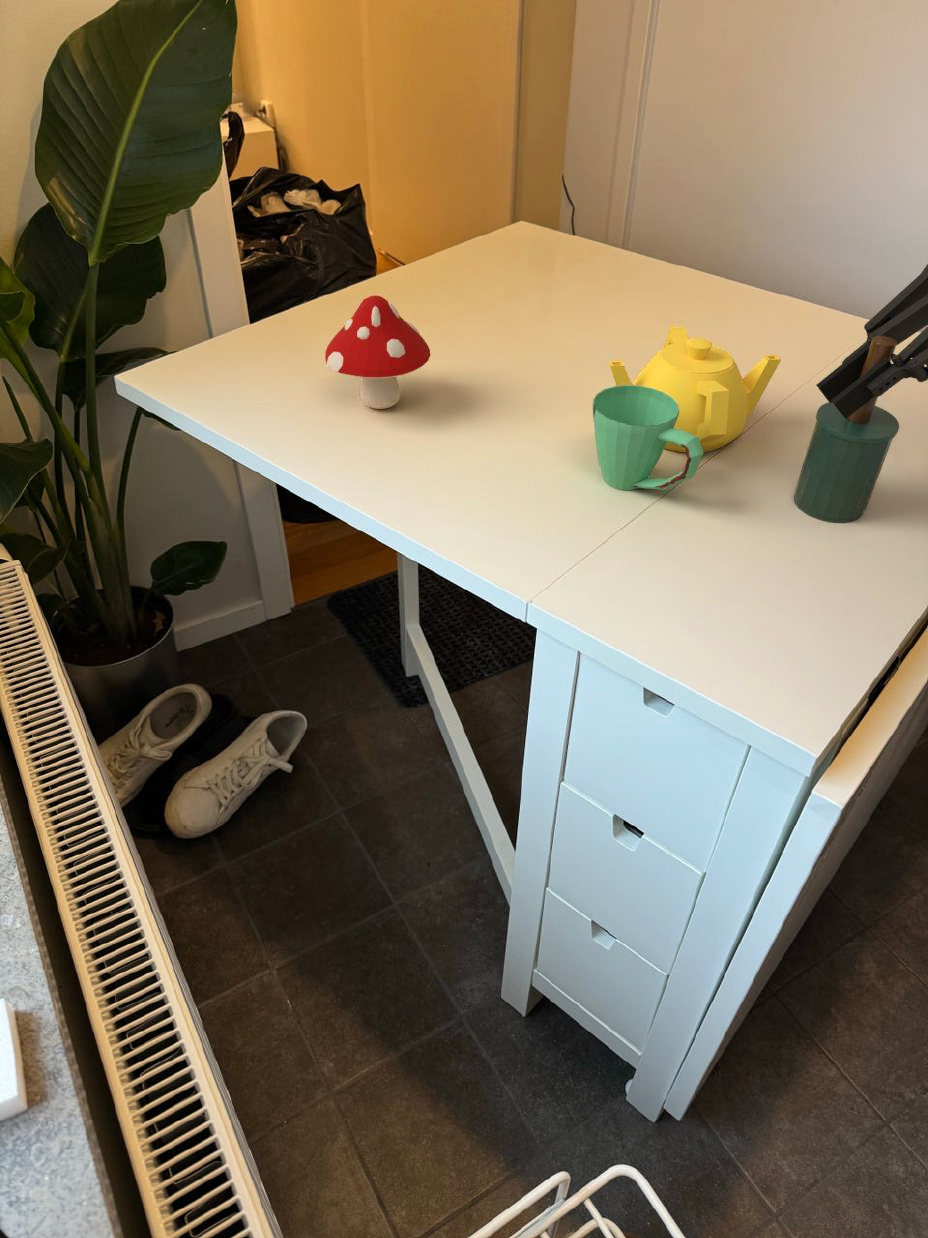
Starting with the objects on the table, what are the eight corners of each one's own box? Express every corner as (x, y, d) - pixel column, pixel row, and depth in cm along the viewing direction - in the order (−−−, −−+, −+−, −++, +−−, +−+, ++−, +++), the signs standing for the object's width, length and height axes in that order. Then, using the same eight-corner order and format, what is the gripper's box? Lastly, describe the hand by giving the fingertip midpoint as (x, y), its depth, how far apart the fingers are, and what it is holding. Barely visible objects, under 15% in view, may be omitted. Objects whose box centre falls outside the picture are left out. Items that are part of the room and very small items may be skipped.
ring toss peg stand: (912, 436, 97) (947, 348, 91) (856, 455, 94) (889, 365, 87) (852, 403, 103) (881, 317, 96) (797, 419, 100) (823, 332, 93)
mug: (566, 476, 108) (575, 401, 102) (620, 449, 113) (632, 376, 107) (659, 530, 100) (675, 453, 94) (713, 500, 105) (732, 424, 99)
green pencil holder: (879, 511, 104) (910, 431, 97) (829, 530, 101) (858, 449, 94) (827, 478, 109) (854, 400, 102) (779, 495, 106) (803, 415, 99)
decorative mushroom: (356, 440, 114) (347, 327, 104) (310, 396, 123) (298, 288, 113) (449, 413, 120) (450, 303, 110) (399, 373, 128) (396, 267, 119)
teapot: (659, 386, 127) (673, 303, 119) (769, 424, 119) (792, 338, 111) (596, 431, 117) (607, 344, 109) (711, 476, 109) (732, 385, 101)
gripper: (1106, 294, 83) (882, 460, 92) (1003, 236, 95) (814, 388, 104) (1082, 237, 79) (850, 417, 88) (978, 184, 91) (782, 347, 100)
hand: (831, 401), depth 96 cm, fingers open, 3 cm apart
